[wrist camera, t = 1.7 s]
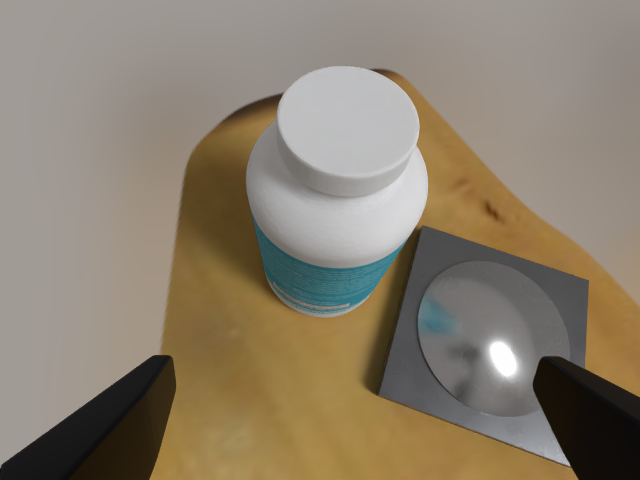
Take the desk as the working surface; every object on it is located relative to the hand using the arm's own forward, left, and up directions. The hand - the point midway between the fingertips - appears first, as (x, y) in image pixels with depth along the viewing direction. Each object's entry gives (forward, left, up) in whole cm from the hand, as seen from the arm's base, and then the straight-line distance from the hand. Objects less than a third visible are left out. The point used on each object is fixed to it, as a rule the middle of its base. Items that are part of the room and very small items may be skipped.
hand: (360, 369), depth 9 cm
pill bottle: (+7, +3, -13) cm, 15 cm away
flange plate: (+6, -8, -13) cm, 17 cm away
